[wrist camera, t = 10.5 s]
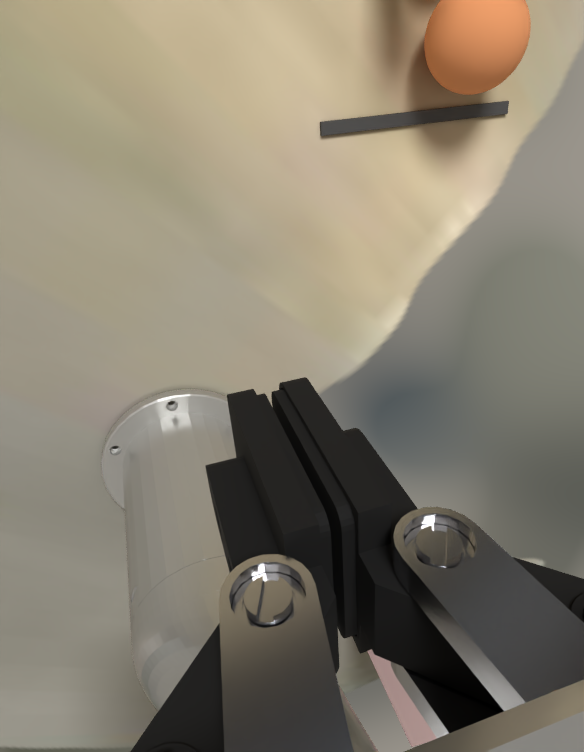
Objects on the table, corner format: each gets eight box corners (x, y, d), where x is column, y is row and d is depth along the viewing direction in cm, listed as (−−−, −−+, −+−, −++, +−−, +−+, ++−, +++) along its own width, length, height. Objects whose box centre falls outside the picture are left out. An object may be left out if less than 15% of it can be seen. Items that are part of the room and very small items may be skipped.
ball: (526, -39, 32) (448, 39, 37) (468, -65, 28) (390, 25, 33) (565, 51, 31) (481, 118, 36) (511, 35, 28) (425, 112, 32)
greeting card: (440, 584, 63) (523, 709, 51) (398, 625, 65) (469, 757, 52) (378, 555, 57) (456, 689, 45) (334, 602, 59) (396, 744, 46)
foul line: (505, 113, 38) (507, 113, 38) (320, 135, 35) (321, 135, 35) (507, 100, 38) (508, 101, 37) (319, 122, 35) (321, 122, 34)
